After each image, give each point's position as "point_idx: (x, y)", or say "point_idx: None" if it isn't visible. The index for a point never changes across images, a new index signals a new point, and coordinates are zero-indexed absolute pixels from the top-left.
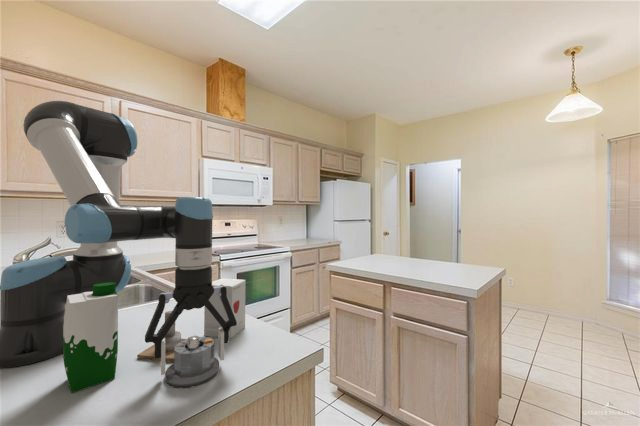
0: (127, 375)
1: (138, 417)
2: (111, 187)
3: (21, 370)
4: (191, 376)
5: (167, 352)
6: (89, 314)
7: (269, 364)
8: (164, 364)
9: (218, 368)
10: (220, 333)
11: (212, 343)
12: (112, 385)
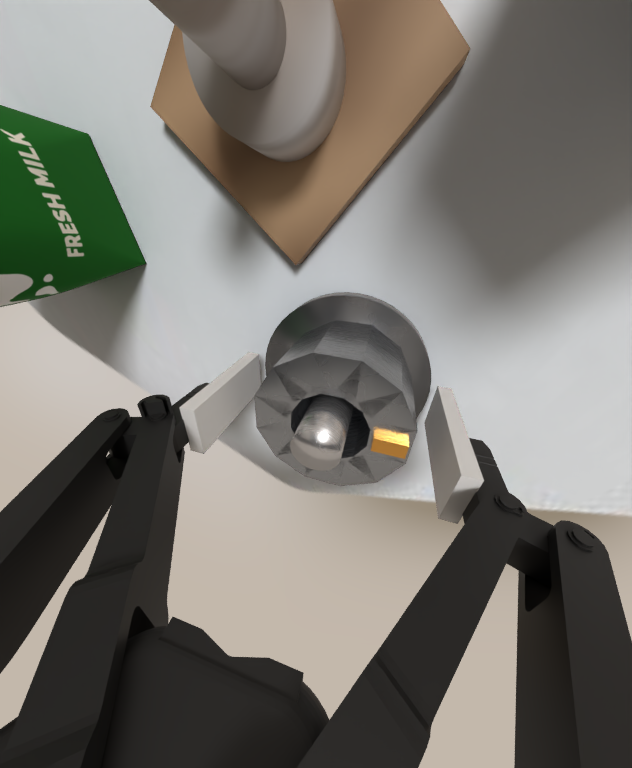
0: (173, 262)
1: (234, 445)
2: None
3: None
4: None
5: (273, 168)
6: None
7: (567, 477)
8: (245, 404)
9: None
10: (439, 504)
11: (396, 463)
12: (155, 300)
